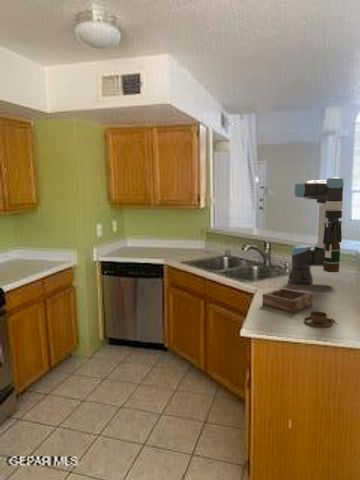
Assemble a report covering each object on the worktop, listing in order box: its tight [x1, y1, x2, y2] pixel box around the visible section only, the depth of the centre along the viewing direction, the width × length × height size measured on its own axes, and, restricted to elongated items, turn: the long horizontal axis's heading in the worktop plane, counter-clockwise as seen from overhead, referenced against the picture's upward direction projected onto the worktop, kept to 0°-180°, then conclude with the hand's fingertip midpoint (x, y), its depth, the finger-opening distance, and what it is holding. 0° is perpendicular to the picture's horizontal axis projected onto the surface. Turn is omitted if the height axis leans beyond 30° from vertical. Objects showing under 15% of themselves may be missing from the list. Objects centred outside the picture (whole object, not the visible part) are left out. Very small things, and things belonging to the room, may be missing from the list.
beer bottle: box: [322, 224, 341, 273], centre depth 185 cm, size 8×8×24 cm
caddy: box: [262, 287, 313, 314], centre depth 195 cm, size 18×18×6 cm
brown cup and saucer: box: [291, 303, 339, 329], centre depth 173 cm, size 18×20×6 cm
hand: (331, 256), depth 185 cm, fingers closed on beer bottle, 8 cm apart
